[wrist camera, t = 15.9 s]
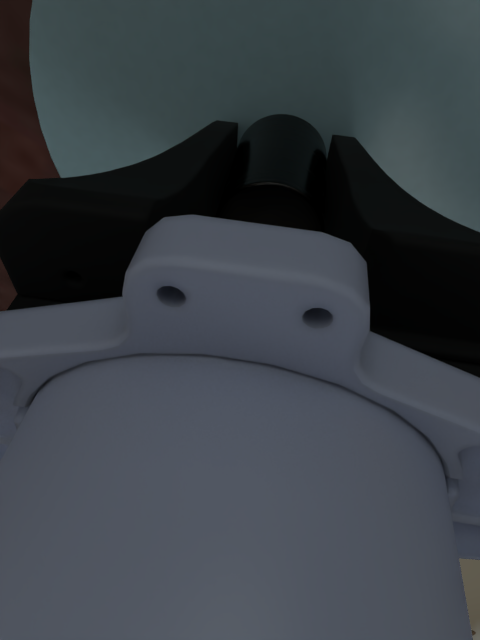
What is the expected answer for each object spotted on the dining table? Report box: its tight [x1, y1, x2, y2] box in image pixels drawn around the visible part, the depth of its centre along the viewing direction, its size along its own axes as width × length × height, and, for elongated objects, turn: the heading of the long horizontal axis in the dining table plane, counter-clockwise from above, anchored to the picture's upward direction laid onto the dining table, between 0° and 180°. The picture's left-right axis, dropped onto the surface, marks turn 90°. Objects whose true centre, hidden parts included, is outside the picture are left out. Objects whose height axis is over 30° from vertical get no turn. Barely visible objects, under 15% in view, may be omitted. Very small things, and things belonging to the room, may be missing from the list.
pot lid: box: [29, 0, 480, 233], centre depth 12 cm, size 15×15×5 cm
